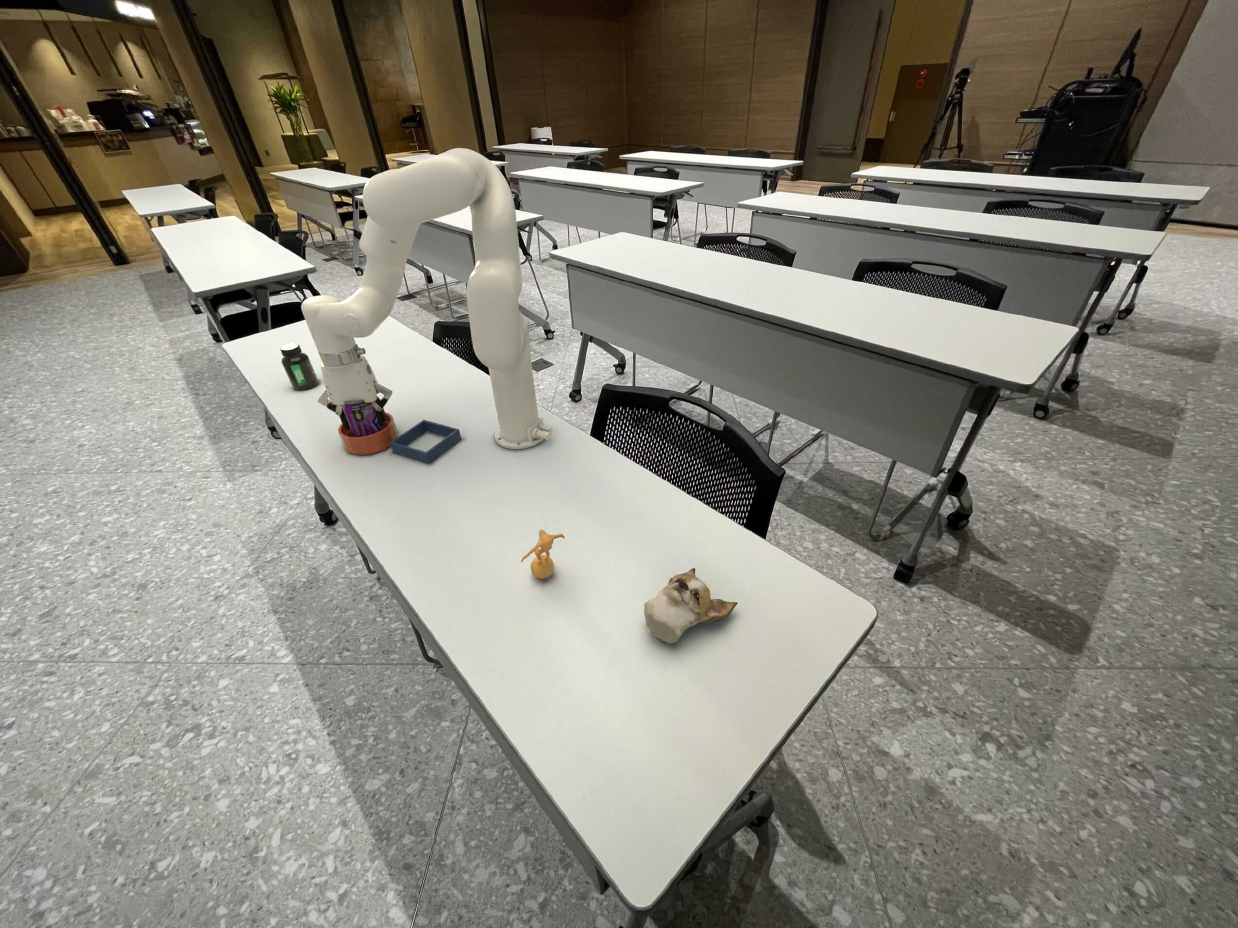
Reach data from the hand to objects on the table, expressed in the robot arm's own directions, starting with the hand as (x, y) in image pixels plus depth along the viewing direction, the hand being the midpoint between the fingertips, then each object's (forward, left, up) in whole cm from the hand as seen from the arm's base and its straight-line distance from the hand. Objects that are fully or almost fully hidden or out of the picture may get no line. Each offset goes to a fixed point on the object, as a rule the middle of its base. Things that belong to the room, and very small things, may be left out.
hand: (366, 424), depth 120 cm
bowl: (0, 0, -5) cm, 5 cm away
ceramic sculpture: (-86, +17, -5) cm, 88 cm away
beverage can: (0, 0, -5) cm, 5 cm away
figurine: (-62, +19, -5) cm, 65 cm away
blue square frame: (-14, -4, -5) cm, 15 cm away
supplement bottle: (+42, -14, -5) cm, 45 cm away
